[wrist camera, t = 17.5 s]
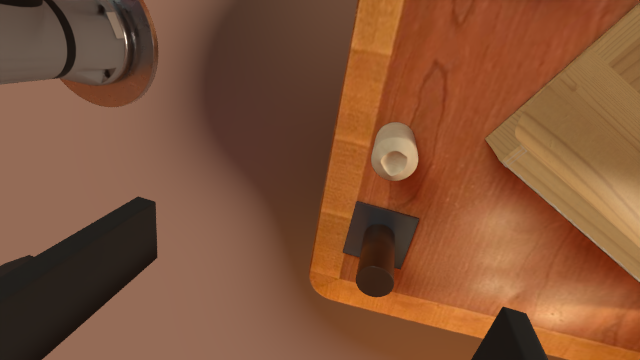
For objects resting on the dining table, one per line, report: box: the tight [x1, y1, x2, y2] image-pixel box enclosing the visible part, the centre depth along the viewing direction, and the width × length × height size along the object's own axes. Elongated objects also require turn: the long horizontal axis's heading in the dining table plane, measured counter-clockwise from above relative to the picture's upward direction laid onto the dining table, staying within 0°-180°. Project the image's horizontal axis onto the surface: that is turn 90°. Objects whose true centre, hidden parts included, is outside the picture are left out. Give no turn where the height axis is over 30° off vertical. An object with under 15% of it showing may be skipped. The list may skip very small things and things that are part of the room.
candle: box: [371, 122, 418, 181], centre depth 42 cm, size 6×6×10 cm
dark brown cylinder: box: [356, 224, 395, 297], centre depth 47 cm, size 5×5×11 cm
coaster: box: [343, 201, 419, 269], centre depth 52 cm, size 10×10×1 cm
